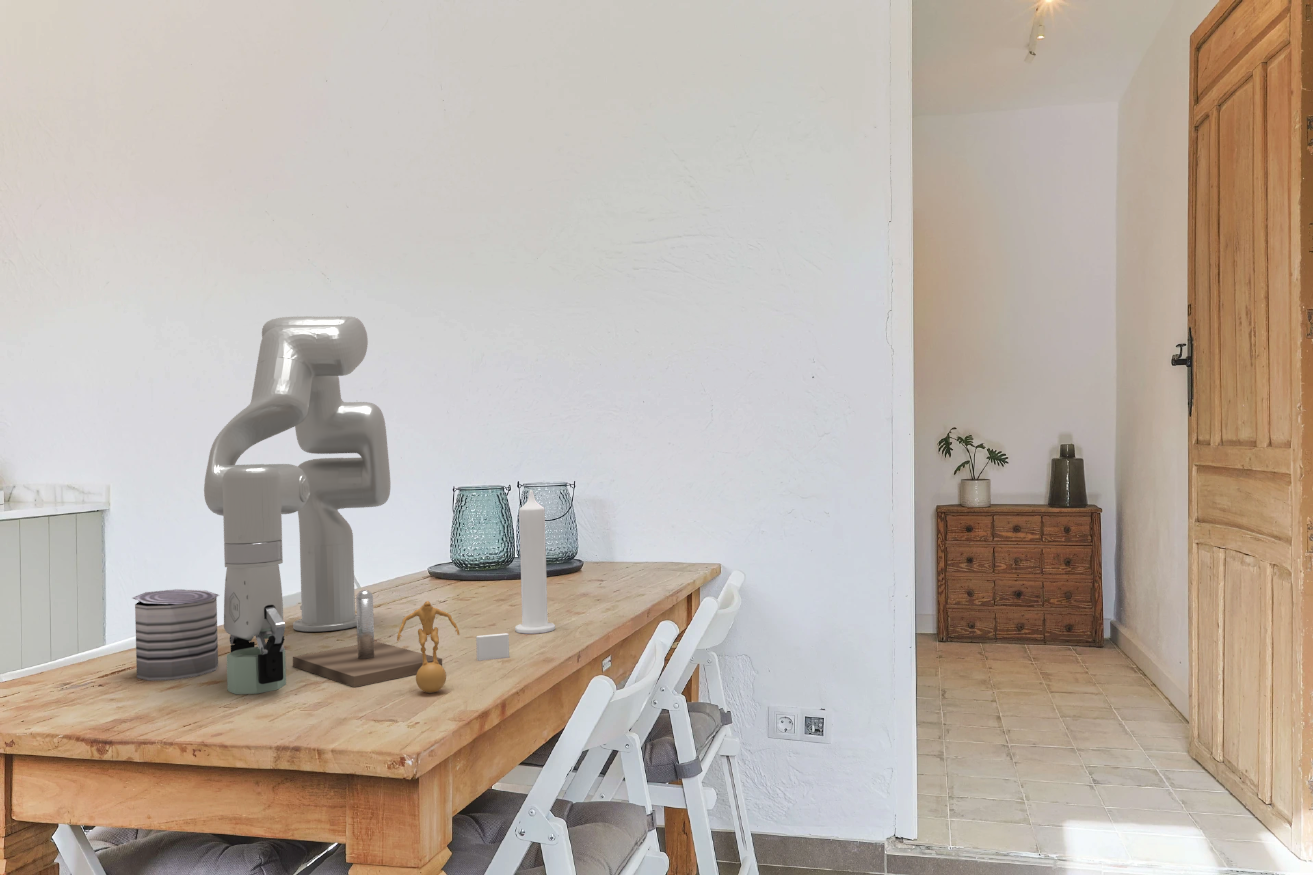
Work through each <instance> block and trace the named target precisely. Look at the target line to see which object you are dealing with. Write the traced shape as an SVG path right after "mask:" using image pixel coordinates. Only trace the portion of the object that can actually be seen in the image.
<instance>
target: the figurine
mask: <svg viewBox="0 0 1313 875" xmlns="http://www.w3.org/2000/svg"><path fill="white" fill-rule="evenodd" d="M437 615H438V616H442V617H446V618H448V621H449V622H450V623H451V625H452V626H453V628H454V629H455V632H456V635H457V636H460V629H459V627H458V626H457V623H456V622H455V621H454V619H453V618H452V615H451V614H450V613H449V612H446V611H445V610H444V611H443V610H441V609H439V608H438V607H434V606H432V604H431V602H430V601H429V600H426V601H425V602H424V603H423V605H421V606H420V607H419V608H418V609H416V610H414V611H413V612H411V613H410V614H408V615H406V616H405V617H403V619H402V621H401V625H400V628H399V630H398V632H397V635H396V640H397V642H399V641H401V638H402V637H403V636H402V632H403V630H404V628H405V625H406V623H407V621H409V620H411V619H414V618H416V617H418V619H419V620H420V624H421V626H422V628H419V629H418V630H417V634H418V642H419V644H420V646H421V647H420V653H422V657H423V665H422V666H421V667H420V668H419V670H418V672H417V674H415V682H416V685H417V687H418V688H419V690H421V691H423V692H424V693H428V694H431V693H432V694H433V693H437V692H439V691H440V690H441V689H442V688H443V687H444V686H445V684H446V681H447V672H446V670H445V668H444V667H443V665H442V666H441V665H440V664H439V663H438V661H437V657H438V656H437V655H438V654H437V651H438V650H439V645H440V644H439V643H440V641H439V640H440V638H439V628H438V627H436V626H435V627H433V626H434V622H435V619H436V616H437ZM428 636H430V640H431V641H432V642H433V644H434V645H433V647H432V656H433V662H430V663H428V662H427V659H426V655H427V653H426V650H427V648H426V642H427V640H428Z"/></svg>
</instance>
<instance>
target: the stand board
mask: <svg viewBox="0 0 1313 875" xmlns="http://www.w3.org/2000/svg"><path fill="white" fill-rule="evenodd" d="M426 659H427V662H428V663H430V662H433V655H431V654H426ZM437 661H438V663H439V664H440V665H441V666H442V667H443V658H441V657H438V656H437ZM422 665H423V657H422V652H418V651H414V650H411V649H406V648H403V647H399V646H395V645H392V644H387V643H384V642H380V641H374V658H371V659H358V644H356V645H350V646H344V647H337V648H333V649H326V650H321V651H316V652H310V653H306V654H299V655H294V656H292V667H294V668H297V669H300V670H303V671H306V672H308V673H312V674H315V675H317V676H319V677H324V678H326V679H329V680H331V681H335V682H337V683H341V684H343V685H346V686H349V687H352V688H357V687H358V688H359V687H362V686H366V685H367V686H368V685H371V684H375V683H381V682H386V681H391V680H396V679H400V678H405V677H411V676H414V675H415V676H416V674H417V672H418V670H419V668H420V667H421V666H422Z"/></svg>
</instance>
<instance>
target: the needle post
mask: <svg viewBox="0 0 1313 875" xmlns="http://www.w3.org/2000/svg"><path fill="white" fill-rule="evenodd" d="M355 599H356V600H355V601H356V602H355V603H356V615H357V626H356V632H357V633H356V634H357V635H356V636H357V638H356V639H357V645H358V659H371V658H374V642H375V633H374V632H375V630H374V629H375V628H374V624H375V622H374V594H373V593H372V592H371V591H370V590H367V589H362V590H361V591H358V593H357V594H356V598H355Z"/></svg>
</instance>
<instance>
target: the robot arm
mask: <svg viewBox="0 0 1313 875" xmlns="http://www.w3.org/2000/svg"><path fill="white" fill-rule="evenodd" d="M261 337H262V338H261V341H260V346H259V351H258V356H257V363H256V369H255V374H254V382H253V387H252V393H251V399H250V400H251V401H250V403H249V404H248V405H247V406H246V407H245V408H243V409H242V410H240V412H238V413H236V415H235V416H234V417H233V418H231V419H230V420H229V422H228V423H227V424H226V425H225V426H224V427H222V429H221V430H220V432H219V433H218V434H217V436H216V437H215V439H214V441H213V443H212V445H211V448H210V452H209V454H208V461H207V466H206V472H205V477H204V485H203V486H204V488H203V492H204V494H203V495H204V501H205V505H206V506H207V508H208V509H209V510H210V511H211V512H212V513H213V514H216V515H218V516H222V517H223V519H222V520H223V543H224V544H223V546H224V547H223V548H224V549H223V550H224V551H223V553H224V568H226V571H225V579H224V598H223V629H224V632H225V633H227V634H228V635H230V636H229V644H230V653H231V652H233V651H235V650H240V649H246V648H252V647H256V646H255V645H256V643H257V647H259V649H260V652H261V654H258V681H259V683H260V684H266V683H271V682H277V681H281V680H283V650H284V649H285V647H284V642H285V635H284V634H285V630H286V623H285V621H284V604H283V602H284V600H283V589H282V580H281V572H280V565H281V564H283V562H284V560H283V528H282V526H283V525H282V524H283V523H282V518H283V516H282V515H290V514H295V513H297V515H298V527H299V528H298V529H299V560H300V562H299V563H300V564H299V565H300V598H301V599H300V600H301V601H300V603H301V605H300V606H299V607H300V610H301V618H300V619H297V620H294V621H293V623H292V628H293V629H294V630H295V631H298V632H307V633H308V632H309V633H310V632H312V633H314V632H315V633H316V632H330V631H339V630H346V629H351V628H354V627H355V628H357V613H356V606H355V603H356V602H355V601H356V600H355V599H356V598H355V566H354V562H355V560H354V558H355V557H354V533H353V530H352V527H351V525H350V524H349V523H348V521H347V519H345V518H344V516H343V515H342V514H341V513H340V512H339V510H343V509H359V508H360V509H362V508H363V509H364V508H374V507H375V508H377V507H380V506H383V505H384V504H386V502H388V499H389V498H390V495H391V473H390V470H391V469H390V461H389V460H390V459H389V458H390V457H389V450H388V448H389V447H388V438H387V436H388V435H387V428H386V421H385V417H384V413H383V412H382V409H381V408H380V407H379V406H378V405H377V404H375V403H372V402H367V401H353V402H351V401H349V402H347V401H344V400H343V399H342V394H341V387H340V386H341V385H340V378H339V377H342V376H348V375H349V374H351V373H352V372H354V371H355V370H356V369H357V367H359V366H360V364H362V363H363V361H364V359H365V357H366V354H367V351H368V345H369V344H368V343H369V340H368V333H367V330H366V327H365V325H364V323H363V321H361V320H360V319H359V318H358V317H355V316H338V315H337V316H284V317H283V316H282V317H276V318H272V319H270V320H268V321H266V322H265V323H264V325H263V326H262V328H261ZM293 428H294V429H295V436H296V440H297V443H298V445H299V448H300V449H301V450H302V451H303V452H306V453H309V454H317V455H323V454H324V455H328V454H329V455H333V454H337V455H338V454H357V455H359V456H360V457H325V458H324V457H323V458H312V459H309V460H306V461H303V462H301V463H300V464H299V465H294V464H291V463H290V464H289V463H271V464H270V463H269V464H267V463H266V464H264V463H261V464H260V463H259V464H258V463H256V464H254V463H253V464H236V463H238V460H239V459H240V457H241V456H242V454H244V453H245V452H246V451H247V450H248V449H250V448H251V447H253V446H255V445H256V444H258V443H260V442H262V441H264V440H267V439H269V438H273V437H274V436H276V435H278V434H281V433H283V432H285V431H288V430H291V429H293ZM254 637H255V639H256V643H255V641H253V639H254ZM265 640H267V641H265Z"/></svg>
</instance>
